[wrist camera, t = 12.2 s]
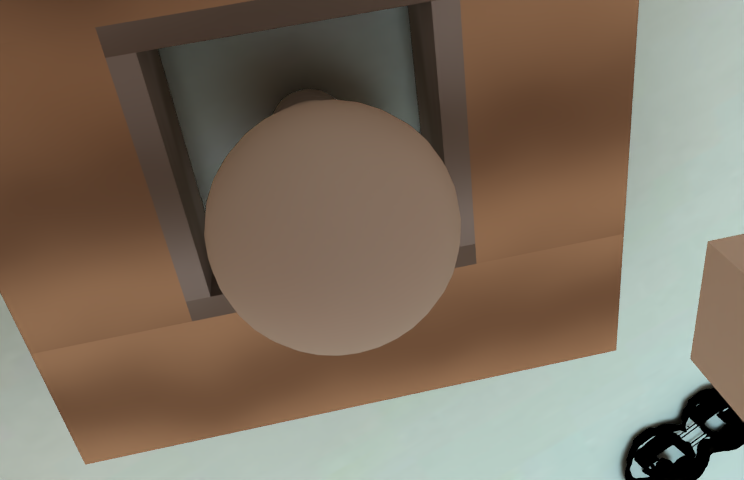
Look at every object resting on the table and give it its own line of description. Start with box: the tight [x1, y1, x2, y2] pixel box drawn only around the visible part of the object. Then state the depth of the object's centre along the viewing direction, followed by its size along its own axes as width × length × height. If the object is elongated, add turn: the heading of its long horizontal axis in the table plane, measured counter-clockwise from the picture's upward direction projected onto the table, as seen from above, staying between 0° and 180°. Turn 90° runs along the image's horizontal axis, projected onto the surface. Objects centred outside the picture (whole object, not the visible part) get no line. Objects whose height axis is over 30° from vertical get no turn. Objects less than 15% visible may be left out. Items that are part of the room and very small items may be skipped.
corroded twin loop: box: [625, 388, 744, 480], centre depth 35 cm, size 5×8×1 cm, turn 136°
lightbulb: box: [204, 89, 461, 356], centre depth 19 cm, size 6×6×11 cm
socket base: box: [0, 0, 639, 464], centre depth 23 cm, size 20×20×4 cm
